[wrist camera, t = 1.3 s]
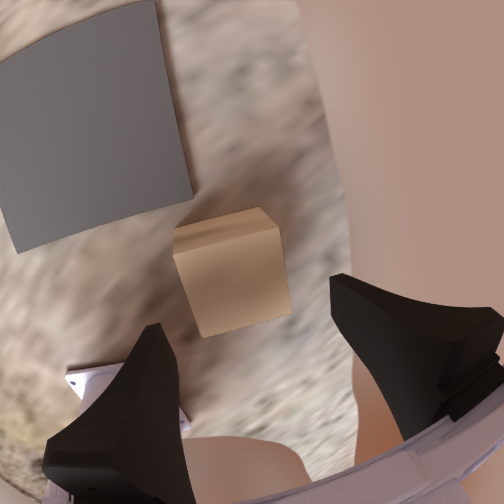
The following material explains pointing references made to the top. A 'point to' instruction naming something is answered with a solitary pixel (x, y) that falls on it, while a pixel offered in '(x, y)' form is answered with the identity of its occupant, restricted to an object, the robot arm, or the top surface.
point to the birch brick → (232, 271)
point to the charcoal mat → (88, 128)
